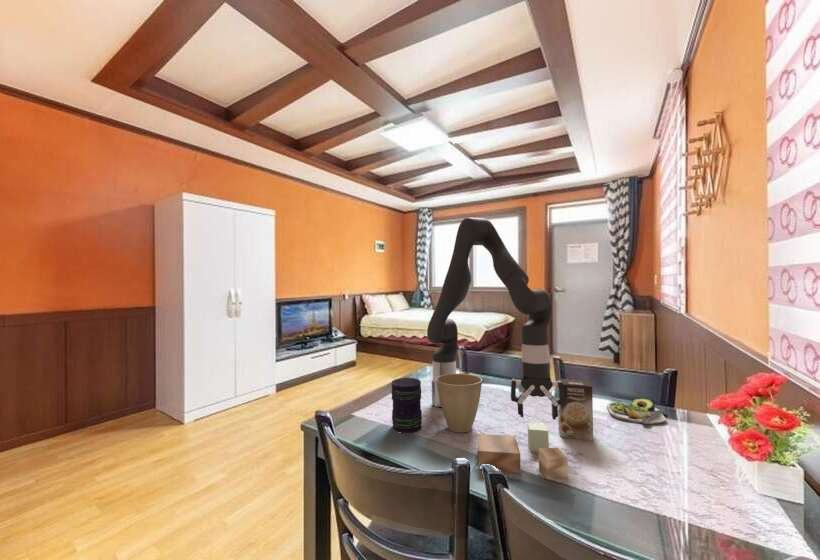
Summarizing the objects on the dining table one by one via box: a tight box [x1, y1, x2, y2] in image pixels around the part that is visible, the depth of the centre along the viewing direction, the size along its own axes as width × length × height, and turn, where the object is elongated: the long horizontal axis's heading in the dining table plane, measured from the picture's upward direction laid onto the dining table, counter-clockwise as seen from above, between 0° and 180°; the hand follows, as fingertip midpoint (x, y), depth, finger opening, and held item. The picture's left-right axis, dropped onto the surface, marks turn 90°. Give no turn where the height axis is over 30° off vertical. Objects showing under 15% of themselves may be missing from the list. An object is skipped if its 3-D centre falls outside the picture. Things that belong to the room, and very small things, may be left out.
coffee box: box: [557, 378, 594, 442], centre depth 104 cm, size 9×6×16 cm
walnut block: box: [477, 433, 522, 474], centre depth 89 cm, size 10×10×5 cm
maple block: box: [538, 447, 569, 480], centre depth 83 cm, size 5×5×5 cm
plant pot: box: [436, 373, 483, 434], centre depth 110 cm, size 15×15×16 cm
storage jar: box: [391, 377, 423, 434], centre depth 112 cm, size 10×10×15 cm
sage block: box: [526, 421, 550, 453], centre depth 96 cm, size 5×5×6 cm
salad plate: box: [606, 398, 666, 425], centre depth 117 cm, size 19×18×5 cm
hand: (537, 417), depth 96 cm, fingers open, 8 cm apart
